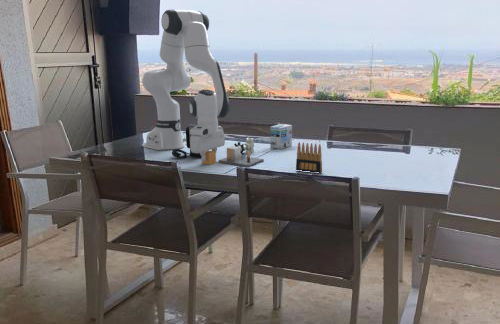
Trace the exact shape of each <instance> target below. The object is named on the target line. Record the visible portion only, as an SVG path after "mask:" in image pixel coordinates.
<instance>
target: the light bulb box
mask: <svg viewBox="0 0 500 324" xmlns="http://www.w3.org/2000/svg"><path fill="white" fill-rule="evenodd" d="M269 129H270V130H269V131H270V132H269V133H270V137H269V138H270V141H269V143H270V145H269V146H270V148H274V149H278V150H280V149H285V148H289V147H292V146H293V125H292V124H285V123H280V124H276V125H272V126H270V128H269Z"/></svg>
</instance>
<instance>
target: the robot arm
mask: <svg viewBox="0 0 500 324" xmlns="http://www.w3.org/2000/svg"><path fill="white" fill-rule="evenodd" d="M160 22H161V27H162V29H163V32H162V35H161V41H160V47H159V48H160V50H159V58H160V59H161V60H162V62H164V63H165V64H166V68H165V69H153V70H149V71H146V72H145V73H144V74H143V76H142V81H141V82H142V86H143V89H145V90H146V92H148V93H149V94H150V95H151V96H152V98H153V99H154V101H155V104H156V112H157V120H153V123H154V124H155V127H154V128H152V129H151V130H150V131H149V132H148V133H147V134H146V139H145V142H144V143H142V144H141V147H143V148H147V149H152V150H155V151H163V150H174V149H181V148H184V147H185V143H184V139H183V135H182V134H183V133H182V120H181V119H182V118H181V113H180V111H181V109H180V107H181V106H180V103H179V102H178V101H177V100H176V99H173V98H172V96H171V93H170V92H181V91H183V90H186V89H188V88H189V87H190V85H191V81H192V79H191V78H192V77H191V75H190V73H189V71H188V70H186V68H185V66H184V57H185V60H186V62H187V63H188V64H189V65H190V66H191V67H192V68H194V69H197V70H199V71H202V72H204V73H206V74H208V75H209V76H210V77H211V79H212V83H213V88H214V90H210V89H201V90H199V91H198V92H197V95H196V96H195V97H194V96H193V97H192V98H191V99H190V100H189V101H188V113H189V115H191V116H192V117H193V118H195V119H197V120H196V121H197V122H196V123H197V125H196V126H195V127H193V128H192V129H191V130H190V134H191V135H192V136H191V137H190V148H189V150H190V149H191V152H192V153H200V155H201V156H202V158H201V162H202V161H207V157H206V155H205V153H206V151H216V152H217V151H218V148H220V147H221V148H222V147H224V146H225V143H226V139H225V132H224V129H223V127H222V126H221V125H219V119H218V118H221V119H222V118H223V119H224V118H226V117H227V116H228V115H229V114H230V112H231V104H230V99H229V97H228V94H227V89H226V85H225V82H224V77H223V73H222V71H221V66H220V64H219V62H218V60H217V59H216V58H214V56H213V55H212V52H211V49H210V48H211V47H210V40H209V35H208V30H209V27H210V19H209V17H208V15H207V14H206V13H205V12H203V11H199V10H198V11H196V10H191V9H173V8H172V9H166V10H165V11H164V12H163V13H162V16H161V21H160Z"/></svg>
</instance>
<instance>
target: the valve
mask: <svg viewBox="0 0 500 324" xmlns="http://www.w3.org/2000/svg"><path fill="white" fill-rule="evenodd" d="M233 145H234V147H240V153H241V156H244V155H245V153H247V152H250V154H252V153H254V151H255V149H254V148H255V141H254V138H252V137H247V138H245V143H241V142H240V141H238V142H236V143H234V144H233Z"/></svg>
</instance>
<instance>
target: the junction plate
mask: <svg viewBox="0 0 500 324" xmlns="http://www.w3.org/2000/svg"><path fill="white" fill-rule="evenodd" d="M264 161H265V160H264V158H259V157H258V158H257V157H253V156H251V153H250V152H246V156H244V155H242V154H241V153H240V146H239V147H235V145H234V146H233V145H231V146H229V147H226V157H224V158H221V159H218V163H219V164H225V165H233V166H237V167H238V166H240V167H245V168H251V167H253V166H255V165H259V164H260V163H263V162H264Z"/></svg>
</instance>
